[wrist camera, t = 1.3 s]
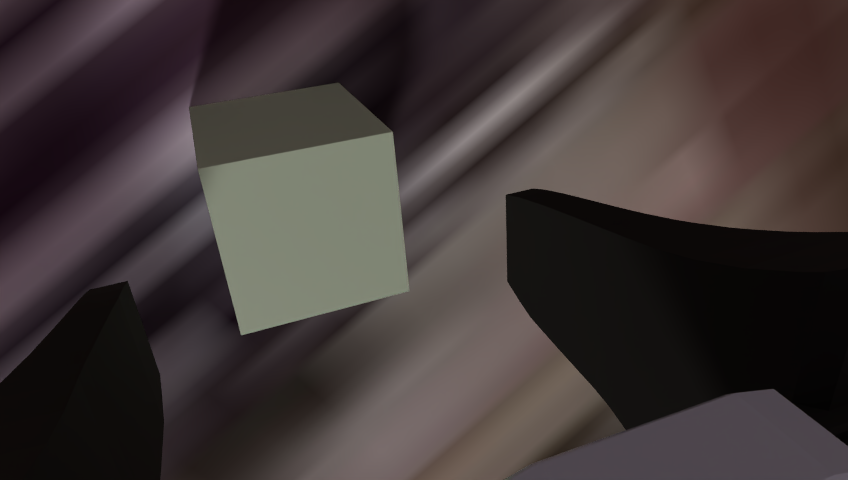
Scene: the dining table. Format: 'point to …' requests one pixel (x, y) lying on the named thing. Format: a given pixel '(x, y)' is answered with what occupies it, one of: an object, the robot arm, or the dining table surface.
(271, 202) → the sage brick
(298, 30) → the dining table surface
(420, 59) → the dining table surface
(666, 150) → the dining table surface
